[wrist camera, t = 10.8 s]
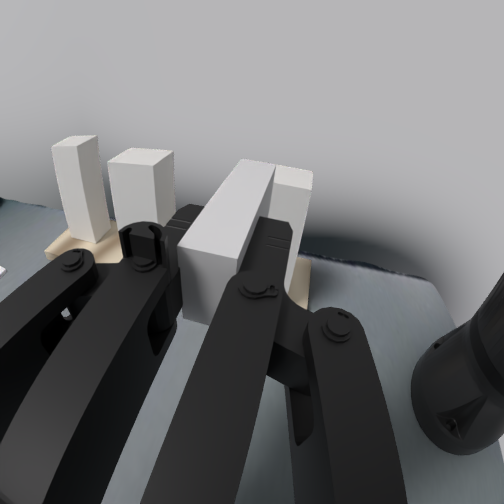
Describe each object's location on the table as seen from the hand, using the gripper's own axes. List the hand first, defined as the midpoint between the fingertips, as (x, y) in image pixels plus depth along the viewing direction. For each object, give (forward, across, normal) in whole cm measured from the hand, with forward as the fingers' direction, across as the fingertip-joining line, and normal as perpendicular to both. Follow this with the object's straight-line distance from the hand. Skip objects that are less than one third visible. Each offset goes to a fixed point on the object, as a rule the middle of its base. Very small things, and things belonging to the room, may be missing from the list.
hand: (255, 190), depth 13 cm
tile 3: (+15, -25, -18) cm, 34 cm away
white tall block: (+11, -12, -17) cm, 24 cm away
